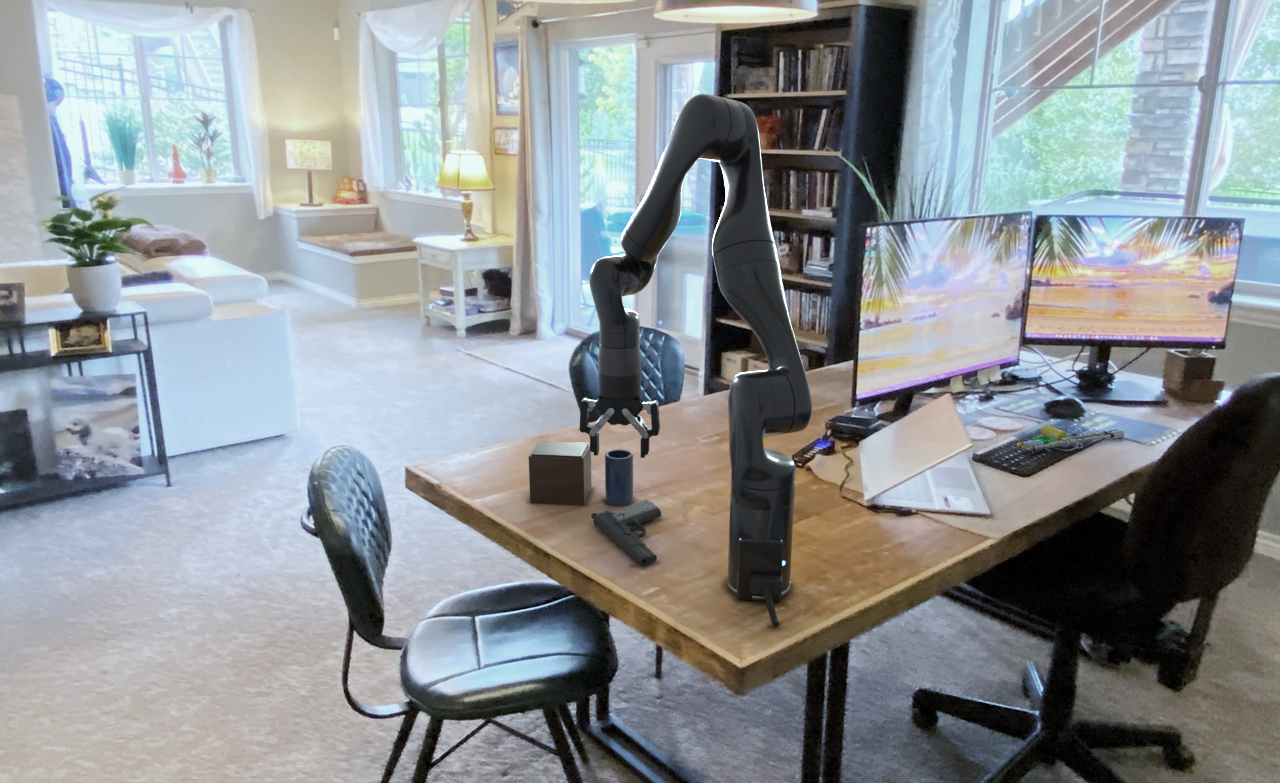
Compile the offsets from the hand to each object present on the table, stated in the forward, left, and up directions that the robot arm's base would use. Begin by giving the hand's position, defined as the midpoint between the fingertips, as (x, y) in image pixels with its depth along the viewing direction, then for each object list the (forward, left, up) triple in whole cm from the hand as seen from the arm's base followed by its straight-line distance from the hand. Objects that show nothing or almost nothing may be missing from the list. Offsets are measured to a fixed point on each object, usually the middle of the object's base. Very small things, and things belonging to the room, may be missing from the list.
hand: (619, 455), depth 167 cm
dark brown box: (+1, +11, -9) cm, 14 cm away
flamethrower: (+42, -92, -9) cm, 101 cm away
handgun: (-15, -6, -9) cm, 19 cm away
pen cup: (0, 0, -9) cm, 9 cm away
